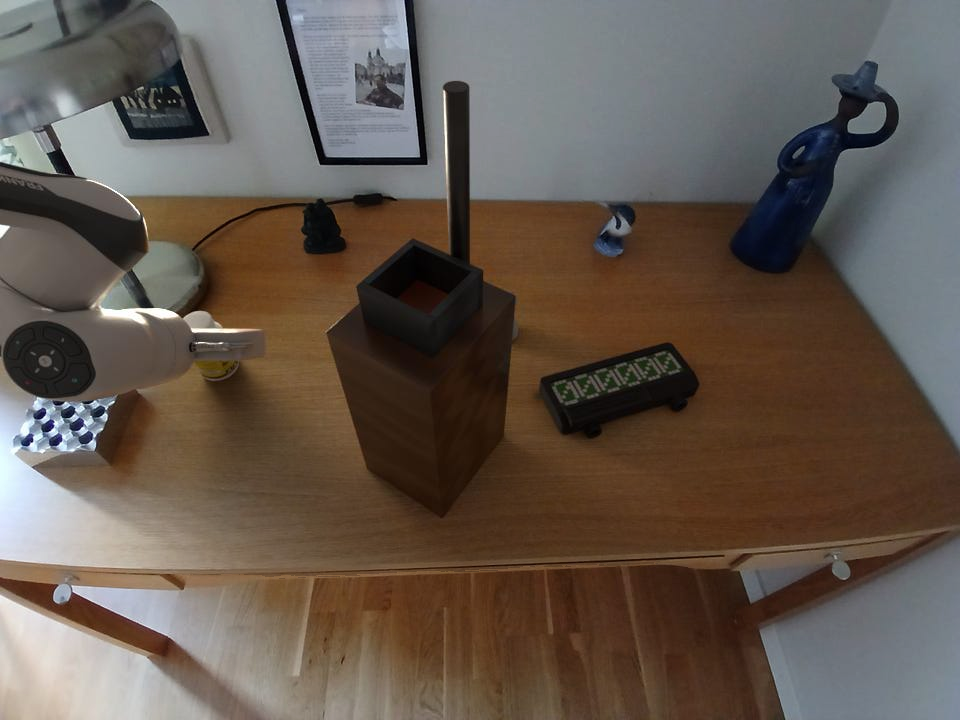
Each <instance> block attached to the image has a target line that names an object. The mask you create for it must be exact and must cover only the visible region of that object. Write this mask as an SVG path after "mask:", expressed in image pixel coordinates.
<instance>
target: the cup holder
mask: <svg viewBox="0 0 960 720" xmlns="http://www.w3.org/2000/svg"><path fill="white" fill-rule="evenodd" d="M470 90H471V87H470V85H469V83H467V82H465V81H462V80H450V81H447V82H445V83H444V84H443V85H442V103H443V105H442V107H443V129H444V131H443V132H444V156H445V158H444V159H445V179H446V180H445V183H446V207H447V232H448V233H447V234H448V253H447V252H446V251H445V252H444V251H442V250H440V249H438V248H437V247H434V246H431V245H429V244H427V243H425V242H423V241H420V240H418V239H416V238H414V237H413V238H411V239H410V240H408V242H406V243H405V244H403V245H402V246H401V247H399V249H397V250H396V251H395V252H394V253H393V254H391V255H390V256H389V257H388V258H386V259H385V260H384V261H383V262H382V263H381V264H380V265H379V266H377V267H376V268H375V269H374V270H373V271H372V272H370V273H369V274H368V275H367V276H366V277H364V278H363V279H362V280H361V281H360V282H359V283H358V284H357V285H355V289H356V293H357V299H358V303H357V304H356V305H355V306H354V307H353V308H351V310H349V311H348V312H347V313H346V314H344V315H343V316H342V317H341V318H340V319H339V320H338V321H336V322H335V324H333V325H332V326H331V327H330V328H329V329H327V331H325V334H326V337H327V340H328V344H329V347H330V350H331V354H332V357H333V361H334V365H335V367H336V371H337V374H338V377H339V380H340V381H339V382H340V383H341V388H342V390H343V393H344V397H345V401H346V403H347V408H348V410H349V415H350V418H351V421H352V424H353V427H354V430H355V431H354V432H355V434H356V437H357V439H358V441H357V442H358V445H359V447H360V452H361V454H362V457H363V461H364V464H365V467H366V469H367V470H368V471H370V472H371V473H372V474H373V475H376V477H379V478H380V479H382V480H383V481H385V482H386V483H388V484H389V485H391V486H392V487H394V488H396V489H397V490H398V491H400V492H401V493H404V494H405V495H406V496H408V497H409V498H411V499H412V500H414V501H415V502H417V503H419V504H420V505H422V507H425V508H426V509H427V510H429V511H431V513H434V514H435V515H437V516H438V517H440V518H441V519H443V518H444V517H445V516H446V514H447V513H448V512H449V511H450V510H451V508H452V506H453V505H454V504H455V503H456V501H457V500H458V498H459V497H460V495H461V494H462V493H463V492H464V491H465V489H466V488H467V486H468V485H469V484H470V482H471V481H472V479H473V478H474V477H475V475H476V474H477V473H478V472H479V470H480V469H481V467H482V466H483V465H484V463H485V462H486V461H487V459H488V458H489V457H490V456H491V454H492V453H493V452H494V450H495V449H496V447H497V446H498V445H499V443H500V442H501V441H502V439H503V438H504V436H505V427H506V415H507V407H508V394H509V393H508V392H509V381H510V368H511V360H512V359H511V358H512V346H513V340H512V336H513V324H514V319H515V312H516V305H515V301H516V298H517V295H516V294H514V293H513V294H511V293H510V291H508V290H507V291H505V290H506V289H502V288H500V287H498V286H496V285H494V284H492V283H490V282H487V281H485V280H484V269H483V268H481V267H478V266H476V265H473V264H472V263H471V168H470V167H471V159H470V158H471V154H470V153H471V150H470V149H471V142H470V141H471V140H470V139H471V137H470V135H471V134H470V133H471V126H470V125H471V124H470V123H471V122H470V121H471V119H470V118H471V117H470V113H471V111H470V110H471V109H470V108H471V107H470V106H471V104H470V99H471V98H470V96H471V95H470V94H471V93H470Z"/></svg>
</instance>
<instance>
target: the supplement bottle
mask: <svg viewBox="0 0 960 720" xmlns="http://www.w3.org/2000/svg"><path fill="white" fill-rule="evenodd" d="M182 319H183V320H185V321H186V323H187V324H188V325H189V326H190V328H218V329H224V327H223V326H222V325H221V324H220V323H218V322H217V321H215V320H214V319H213V317H212V314H210V313H209V312H207V311H203V310H197V311H192V312H190V313H188V314H187V315H185V316H184V317H183V318H182ZM239 362H240V360H239V361H194V362H193V364H194V365H195V367H196V368H197V370H198V371H199V373H200V375H201V376H202V377H203V378H204V379H206V380H208V381H211V382H217V381H223V380H226V379H228V378H229V377H231V376H233V374H235V373H236V372H237V370H238V368H239V365H240V363H239Z"/></svg>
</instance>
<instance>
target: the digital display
mask: <svg viewBox="0 0 960 720" xmlns="http://www.w3.org/2000/svg"><path fill="white" fill-rule="evenodd" d="M699 387H700V381H699V378H698V376H697V375H696V373H695V371H694V370H693V368H692V367H691V366H690V364H688V362H687V361H686V359H685V358H684V357H683V355H682V354H681V353H680V352H679V350H678V349H677V348H676V346H674V344H673V343H672V342H668V341H666V342H662V343H659V344H655V345H652V346H648V347H644V348H642V349H641V348H640V349H637V350H634V351H630V352H627V353H623V354H620V355H617V356H616V355H615V356H612V357H609V358H605V359H602V360H599V361H595V362H591V363H588V364H584V365H581V366H577V367H573V368H570V369H566V370H563V371H559V372H555V373H553V374H548V375H545V376H542V377H541V378H540V380H539V386H538V393H539V396H540V397H541V400H542V401H543V404H544V405H545V407H546V408H547V410H548V412H549V415H550V417H551V418H552V420H553V422H554V424H555V425H556V428H557V430H558V431H559V433H560V434H562V435H563V436H564V435H569V434H573V433H576V432H579V431H584V433H585V435H586V437H587V438H589V439H594V438H597V437H599V436H600V435H601V434H602V432H603V428H602V427H601V425H602V424H605V423H608V422H612V421H615V420H618V419H621V418H624V417H627V416H631V415H634V414H637V413H640V412H644V411H647V410H651V409H654V408H657V407H661V406H665V405H668V404H669V406H670V407H671V409H672V410H673V411H675V412H680V411H682V410H684V409H686V407H687V406H688V400H687V399H686V398H689V397H693V396H695V395H696V393H697V391H698V389H699Z"/></svg>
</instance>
